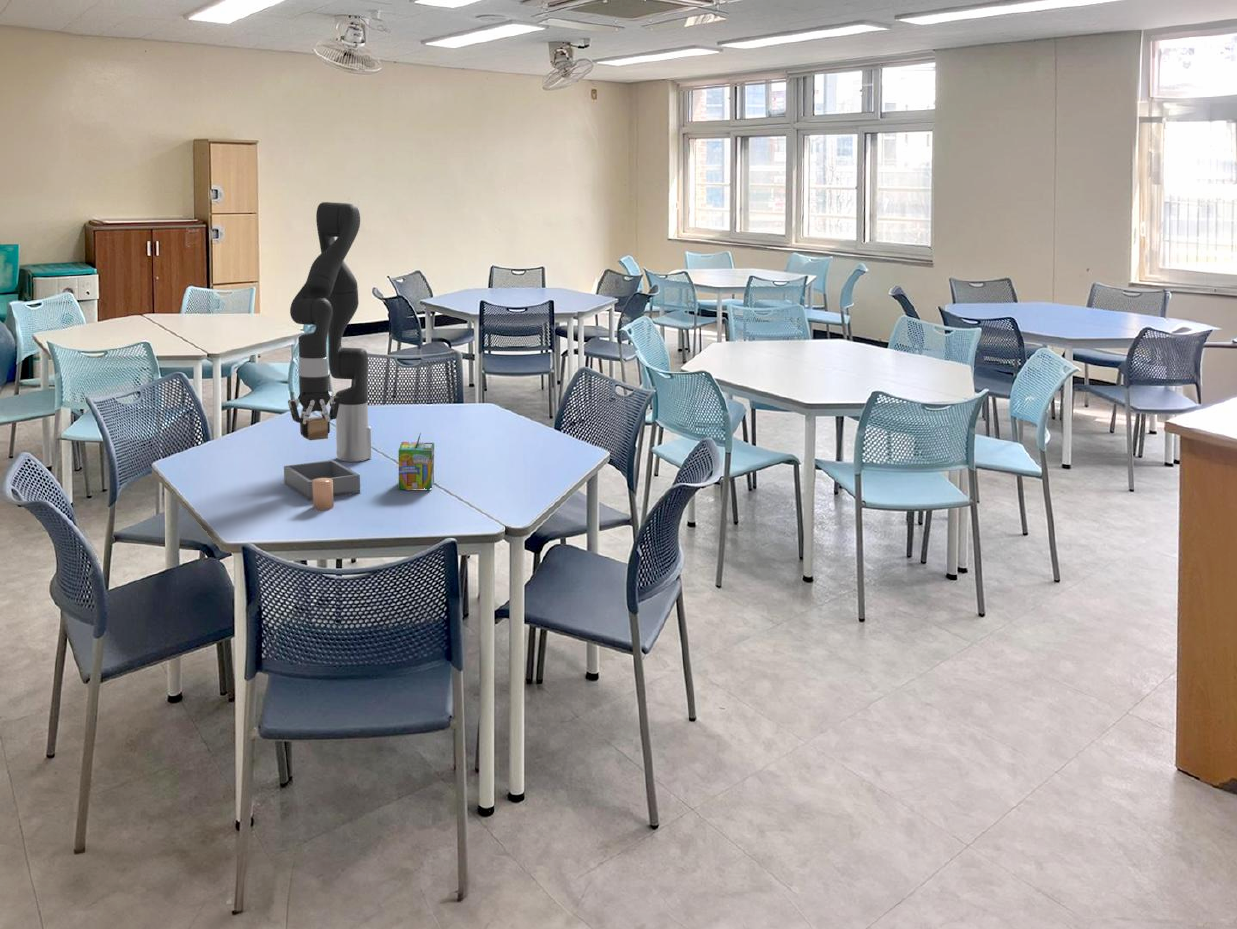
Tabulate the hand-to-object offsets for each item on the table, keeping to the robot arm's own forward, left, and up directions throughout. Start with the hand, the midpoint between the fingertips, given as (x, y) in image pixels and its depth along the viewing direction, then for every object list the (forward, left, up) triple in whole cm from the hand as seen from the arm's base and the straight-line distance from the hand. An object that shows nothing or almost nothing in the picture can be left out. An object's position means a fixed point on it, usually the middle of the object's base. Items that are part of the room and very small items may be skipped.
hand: (315, 435), depth 286 cm
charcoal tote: (0, +3, -14) cm, 14 cm away
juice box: (-23, +13, -14) cm, 30 cm away
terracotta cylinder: (+6, +19, -14) cm, 25 cm away
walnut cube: (0, 0, 0) cm, 0 cm away
